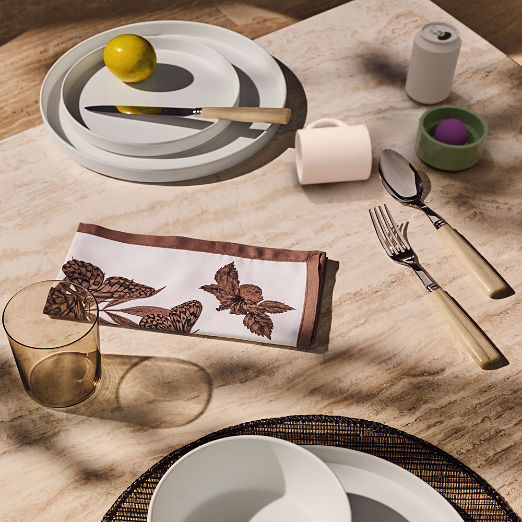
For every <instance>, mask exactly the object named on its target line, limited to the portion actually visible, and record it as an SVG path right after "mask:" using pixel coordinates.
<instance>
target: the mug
mask: <svg viewBox="0 0 522 522" xmlns="http://www.w3.org/2000/svg"><path fill="white" fill-rule="evenodd" d="M294 139H295V140H294V153H295V154H294V155H295V167H296V174H297V179H298V182H299V184H300V185H314V184H327V183H338V182H340V183H341V182H351V181H352V182H353V181H364V180H365V181H366V180H368V179H369V178H370V175H371V173H372V172H371V171H372V166H373V164H372V163H373V162H372V161H373V152H372V151H373V150H372V140H371V136H370V131H369V130H368V128H367V126H366V124H356V125H349V124H347V123H346V122H344V121H343V120H340V119H336V118H332V117H327V118H320V119H317V120H315V121H313V122H311V123H309V124H308V125H306V126H305V128H302V129H297V130H296V132H295V138H294Z"/></svg>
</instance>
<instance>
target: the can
mask: <svg viewBox="0 0 522 522" xmlns="http://www.w3.org/2000/svg"><path fill="white" fill-rule="evenodd" d="M460 35H461V33H460V30H459V28H458V27H457V26H456V25H455V24H452V23H450V22H447V21H443V20H442V21H441V20H432V21H431V20H430V21H427V22H425V23H423V24H422V25H421V26H420V28H419V30H418V31H416V33H415V34H414V37H413V43H412V49H411V53H410V59H409V65H408V69H407V76H406V81H405V87H404V89H405V92H406V94H407V95H408V96H409V97H410V98H411V99H412V100H413V101H415V102H417V103H420V104H424V105H434V104H438V103H440V102H442V101H444V100H446V99H447V98H449V96H450V93H451V89H452V85H453V80H454V77H455V72H456V69H457V64H458V60H459V56H460V52H461V47H462V42H463V40H462V38H461V36H460Z"/></svg>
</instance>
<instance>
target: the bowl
mask: <svg viewBox="0 0 522 522" xmlns="http://www.w3.org/2000/svg"><path fill="white" fill-rule="evenodd" d="M447 119H457V120H460V121H461V122H463V123H464V124H465V126H466V127H467V130H468V139H467V142H466V144H465V145H460V146H456V145H448V144H445V143H442V142H439V141H437V140H435V138H434V134H435V130H436V128H437V126H438V125H439V124H440V123H441V122H443V121H444V120H447ZM488 135H489V126H488V124H487V122H486V121H485V119H484V118H483V117H482V116H481V115H480V114H478V113H477V112H475V111H474V110H472V109H469V108H467V107H463V106H459V105H450V104H446V105H445V104H444V105H437V106H434V107H431V108H429V109H427V110H426V111H424V112H422V114H421V115H420V117H419V119H418V123H417V129H416V133H415V137H414V145H413V148H414V151H415V153H416V155H417V156H418V157H419V158H420V160H422V162H424V163H426V164H428V165H429V166H431V167H433V168H436V169H440V170H443V171H450V172H451V171H463V170H466V169H469V168H472V167H473V166H475V165H476V164H477V163H478V162H479V161H480V159H481V157H482V154H483V151H484V148H485V144H486V141H487V138H488Z"/></svg>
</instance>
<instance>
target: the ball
mask: <svg viewBox="0 0 522 522" xmlns="http://www.w3.org/2000/svg"><path fill="white" fill-rule="evenodd" d="M434 138H435V140H437V141H439V142H442V143H445V144H448V145H456V146H460V145H465V144H466V142H467V139H468V130H467V127H466V126H465V124H464V123H463V122H461V121H460V120H457V119H447V120H444V121H443V122H441V123H440V124H439V125H438V126H437V128H436V130H435V134H434Z"/></svg>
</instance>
